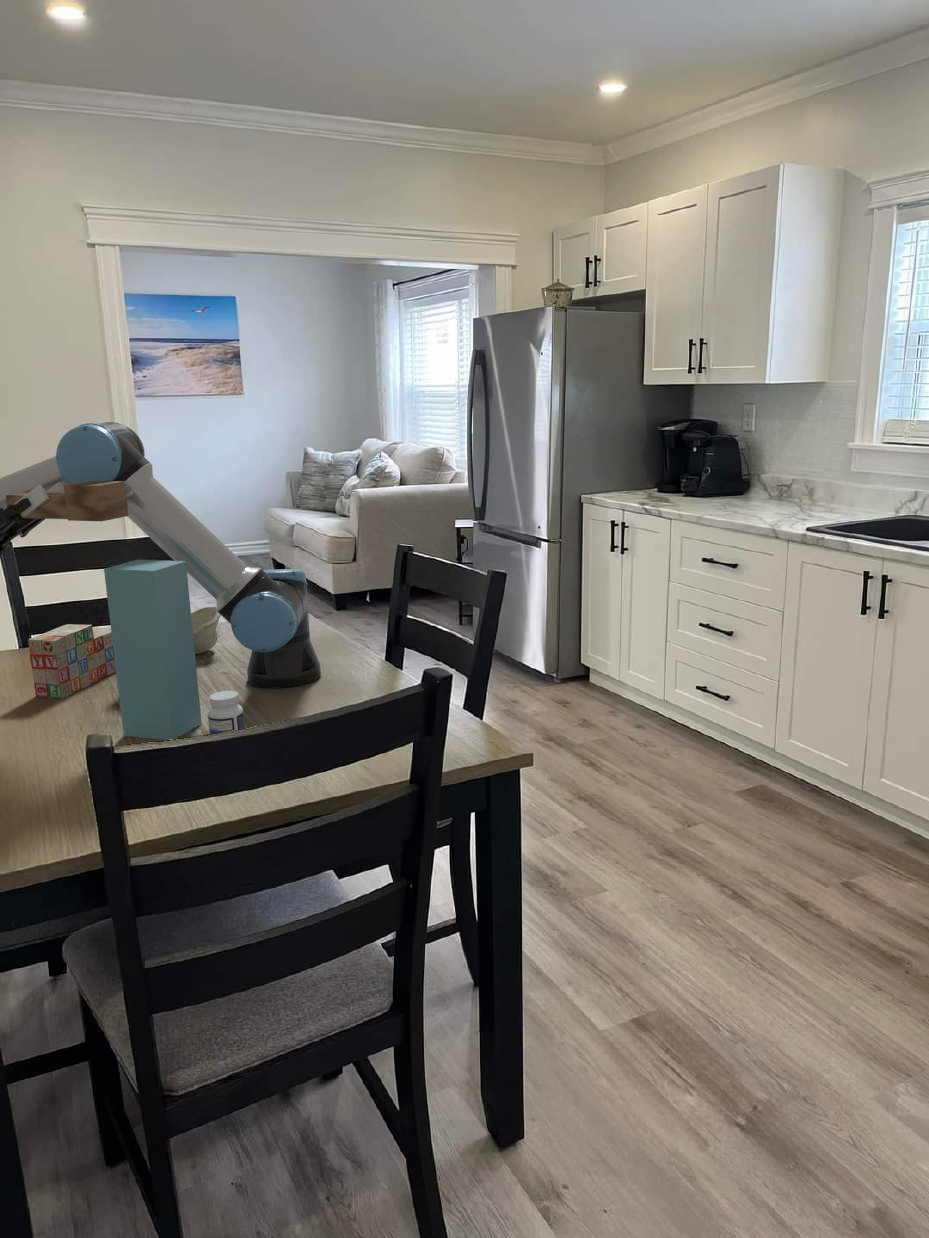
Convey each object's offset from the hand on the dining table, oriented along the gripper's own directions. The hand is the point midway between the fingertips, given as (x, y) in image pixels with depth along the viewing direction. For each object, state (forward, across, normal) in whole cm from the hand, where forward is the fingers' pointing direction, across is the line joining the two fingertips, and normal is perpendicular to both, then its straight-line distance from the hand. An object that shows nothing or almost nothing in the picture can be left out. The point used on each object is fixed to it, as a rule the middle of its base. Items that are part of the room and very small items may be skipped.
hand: (53, 490), depth 162 cm
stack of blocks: (-37, -21, -28) cm, 51 cm away
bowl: (-27, -46, -34) cm, 63 cm away
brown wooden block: (-1, 0, -5) cm, 5 cm away
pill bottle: (+9, +6, -54) cm, 56 cm away
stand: (-6, 0, -46) cm, 46 cm away
